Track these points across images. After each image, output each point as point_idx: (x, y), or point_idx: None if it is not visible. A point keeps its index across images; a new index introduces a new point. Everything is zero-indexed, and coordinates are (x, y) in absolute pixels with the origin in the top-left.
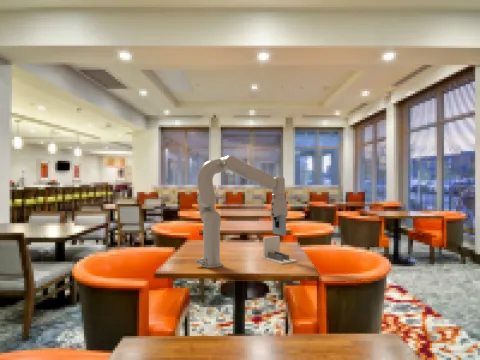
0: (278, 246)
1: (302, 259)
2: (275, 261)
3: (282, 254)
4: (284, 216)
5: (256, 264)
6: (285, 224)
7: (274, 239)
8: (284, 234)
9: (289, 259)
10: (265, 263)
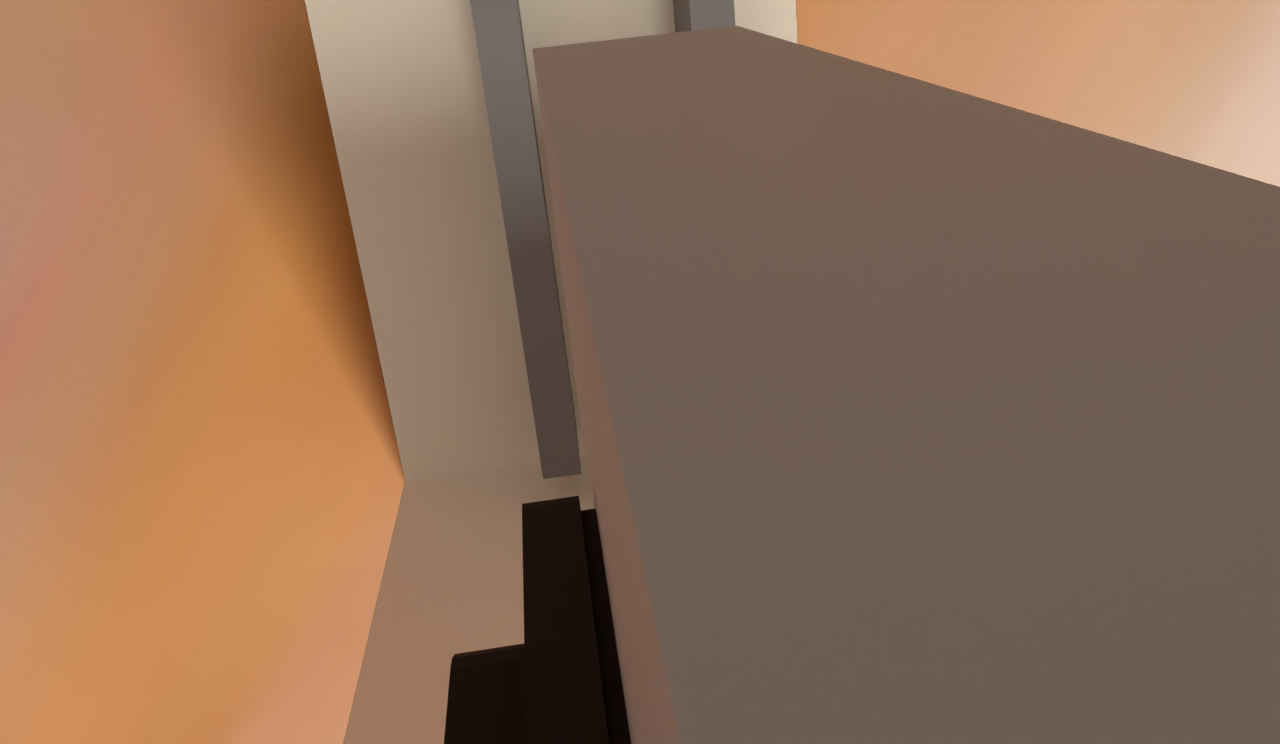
0: (422, 581)
1: (18, 23)
2: (794, 40)
3: (539, 167)
4: (1276, 483)
5: (1211, 84)
6: (607, 126)
7: None
8: (635, 44)
9: (416, 17)
10: (1010, 75)
